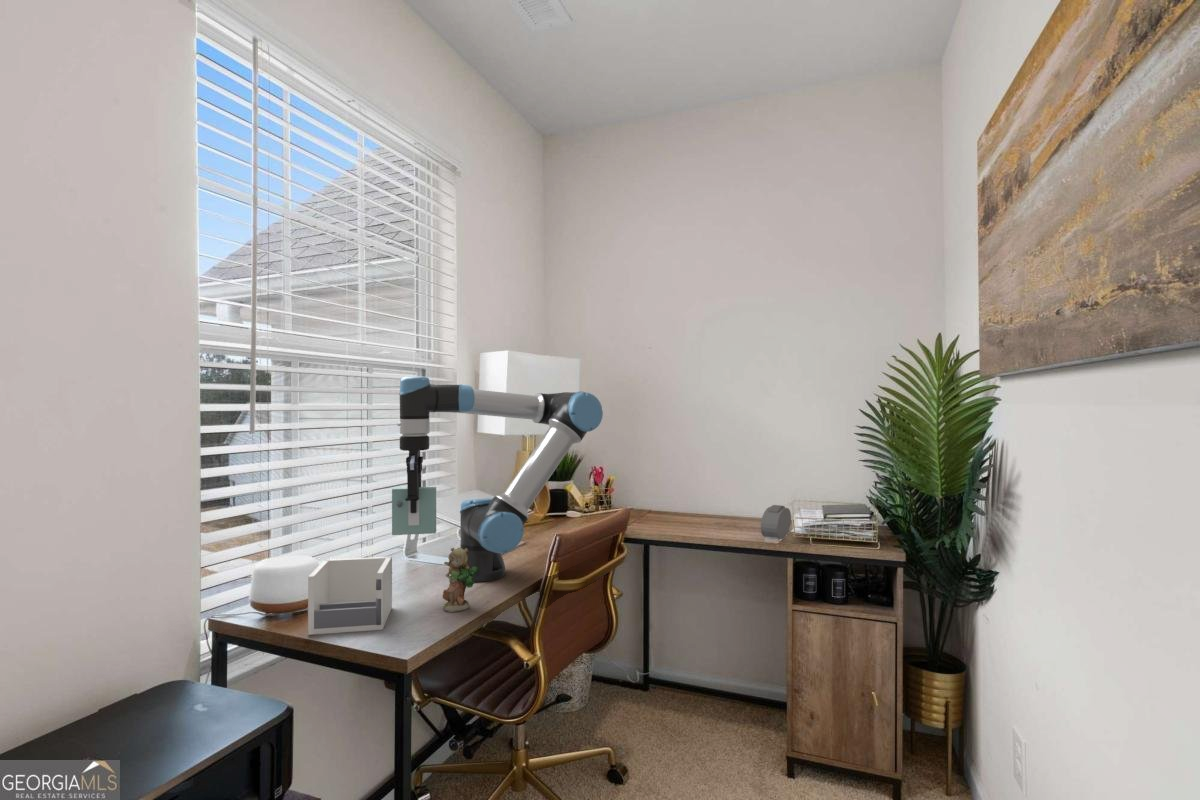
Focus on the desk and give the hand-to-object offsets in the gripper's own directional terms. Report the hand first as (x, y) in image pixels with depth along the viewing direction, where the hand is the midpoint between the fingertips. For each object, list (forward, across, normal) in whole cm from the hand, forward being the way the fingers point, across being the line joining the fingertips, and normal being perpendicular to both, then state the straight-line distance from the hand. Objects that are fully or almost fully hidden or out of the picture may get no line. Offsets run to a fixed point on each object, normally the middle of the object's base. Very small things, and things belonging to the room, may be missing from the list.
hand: (414, 523), depth 158 cm
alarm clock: (+21, -46, +128) cm, 138 cm away
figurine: (+21, +8, +12) cm, 25 cm away
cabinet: (+20, +12, -13) cm, 27 cm away
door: (+3, 0, 0) cm, 3 cm away
